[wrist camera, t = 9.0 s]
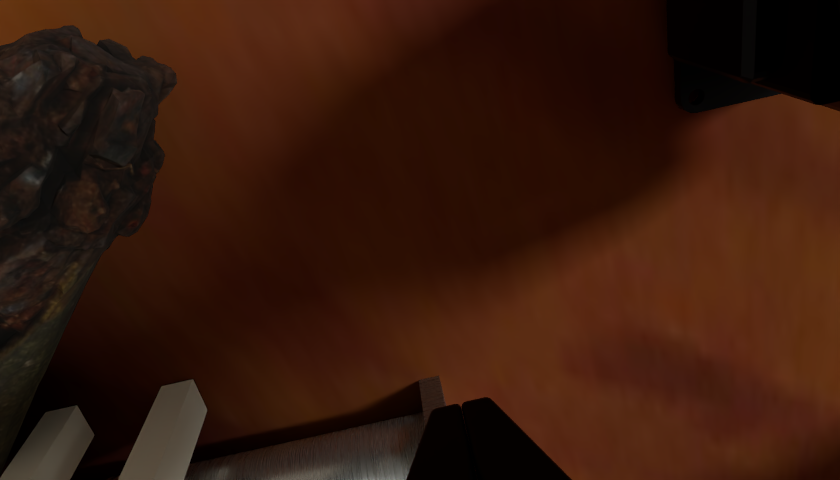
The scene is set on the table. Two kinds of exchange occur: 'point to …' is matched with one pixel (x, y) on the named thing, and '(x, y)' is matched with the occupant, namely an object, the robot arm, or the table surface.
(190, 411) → the grey staple-shaped bracket
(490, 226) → the table surface
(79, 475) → the table surface
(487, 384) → the table surface
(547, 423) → the table surface
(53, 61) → the dark piece
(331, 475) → the air tube
